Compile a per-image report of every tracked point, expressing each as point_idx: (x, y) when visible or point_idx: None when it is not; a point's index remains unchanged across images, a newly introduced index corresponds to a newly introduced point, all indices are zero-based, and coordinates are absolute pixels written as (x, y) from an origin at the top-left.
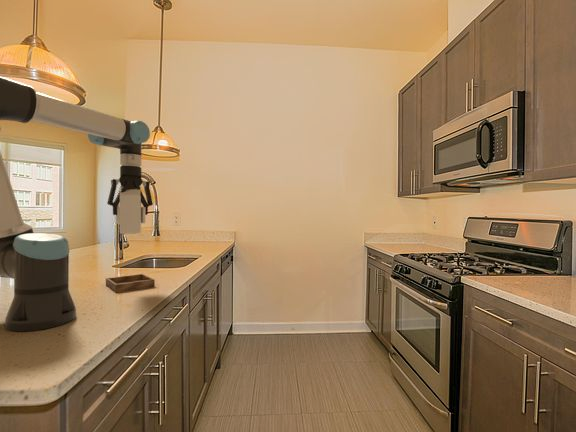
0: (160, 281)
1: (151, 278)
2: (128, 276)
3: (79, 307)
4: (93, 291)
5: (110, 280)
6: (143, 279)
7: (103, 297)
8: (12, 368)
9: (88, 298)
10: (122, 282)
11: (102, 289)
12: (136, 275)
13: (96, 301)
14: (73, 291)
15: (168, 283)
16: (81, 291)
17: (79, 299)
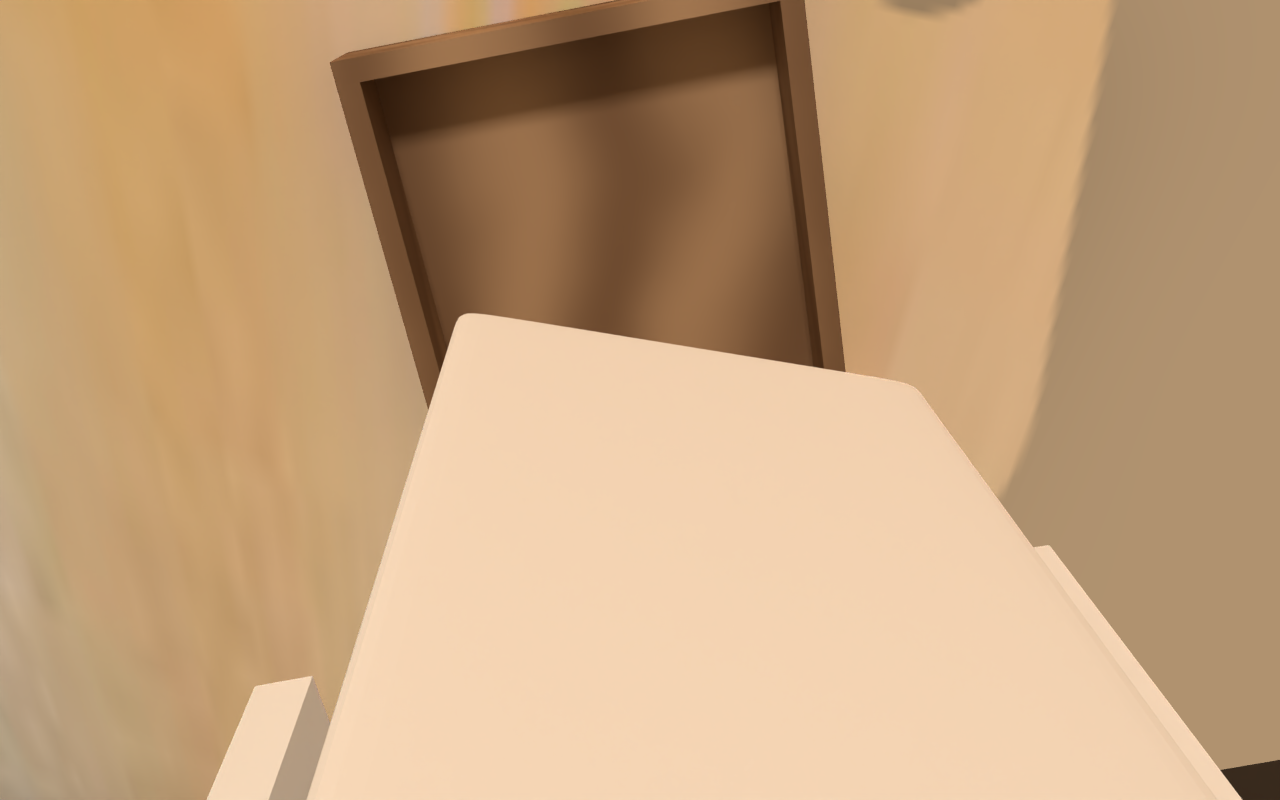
0: (959, 143)
1: (833, 333)
2: (609, 32)
3: (216, 757)
4: (247, 304)
5: (392, 233)
6: (781, 85)
7: (360, 567)
8: None
9: (240, 547)
10: (534, 74)
11: (328, 254)
12: (713, 13)
13: (316, 660)
14: (41, 207)
15: (1000, 293)
16: (125, 246)
17: (171, 547)
